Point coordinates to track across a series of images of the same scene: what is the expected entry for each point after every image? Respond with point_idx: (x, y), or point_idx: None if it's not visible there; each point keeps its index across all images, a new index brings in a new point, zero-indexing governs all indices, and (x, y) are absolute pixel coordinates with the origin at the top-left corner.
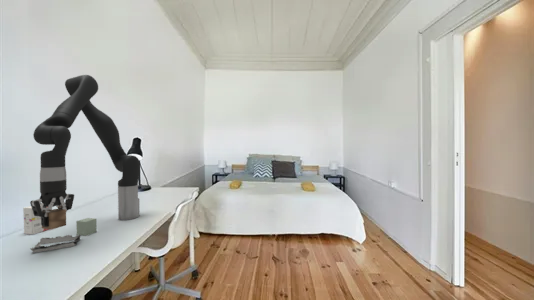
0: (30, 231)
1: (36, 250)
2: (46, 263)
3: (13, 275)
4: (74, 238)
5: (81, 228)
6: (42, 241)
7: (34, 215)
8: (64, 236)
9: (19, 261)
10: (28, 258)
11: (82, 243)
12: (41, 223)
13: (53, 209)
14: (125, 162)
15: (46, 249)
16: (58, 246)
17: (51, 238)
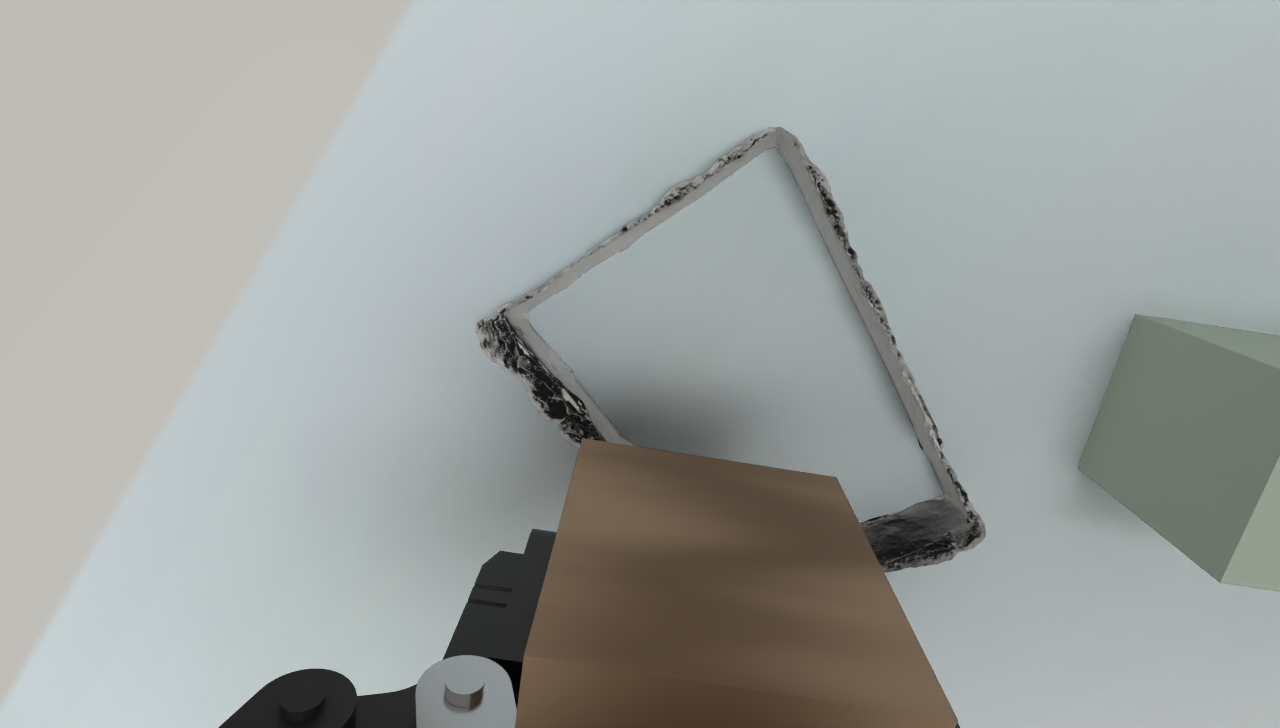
0: None
1: (536, 342)
2: (351, 659)
3: (127, 600)
4: (933, 455)
5: (1169, 441)
6: (789, 149)
7: (269, 689)
8: (904, 381)
9: (322, 387)
10: (395, 407)
11: None
12: (476, 585)
13: (863, 714)
14: None
15: (594, 409)
16: None
17: (841, 246)
